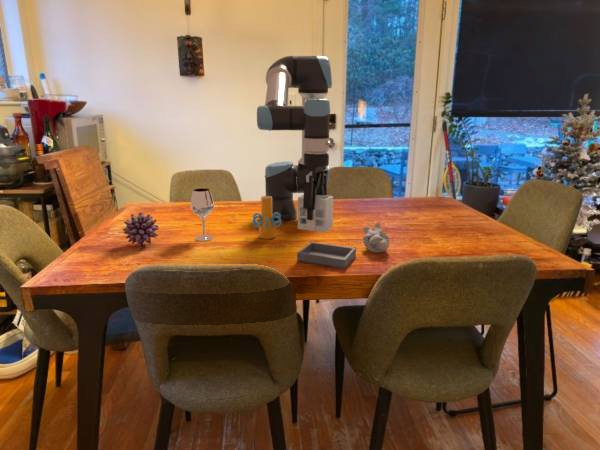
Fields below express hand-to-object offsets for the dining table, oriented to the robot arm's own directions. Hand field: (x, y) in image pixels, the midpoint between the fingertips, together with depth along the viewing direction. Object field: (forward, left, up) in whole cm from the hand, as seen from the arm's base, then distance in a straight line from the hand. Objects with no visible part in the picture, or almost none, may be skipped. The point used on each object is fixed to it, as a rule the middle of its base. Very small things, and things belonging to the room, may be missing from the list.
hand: (315, 226), depth 135 cm
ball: (-2, 0, +3) cm, 4 cm away
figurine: (+16, +15, -11) cm, 24 cm away
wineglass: (-44, +3, -11) cm, 46 cm away
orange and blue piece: (-24, +14, -11) cm, 30 cm away
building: (0, 0, 0) cm, 0 cm away
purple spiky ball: (-59, -12, -11) cm, 61 cm away
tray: (+4, +1, -11) cm, 11 cm away
